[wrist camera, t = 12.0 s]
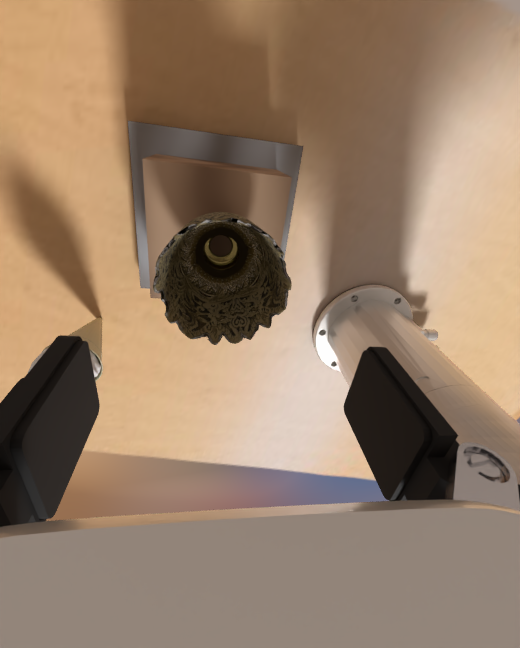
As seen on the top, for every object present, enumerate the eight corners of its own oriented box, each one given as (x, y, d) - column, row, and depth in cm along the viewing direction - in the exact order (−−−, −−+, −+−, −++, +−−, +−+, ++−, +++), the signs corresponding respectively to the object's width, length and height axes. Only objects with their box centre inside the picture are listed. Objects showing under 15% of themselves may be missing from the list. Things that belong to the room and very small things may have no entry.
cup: (276, 278, 26) (299, 330, 19) (189, 299, 26) (181, 358, 19) (258, 182, 22) (280, 204, 15) (155, 206, 22) (130, 239, 15)
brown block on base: (297, 145, 28) (325, 149, 21) (274, 287, 35) (289, 324, 28) (133, 121, 25) (105, 116, 19) (144, 279, 32) (126, 318, 26)
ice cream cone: (69, 297, 32) (-22, 402, 20) (121, 299, 33) (66, 401, 21) (78, 337, 35) (3, 453, 22) (126, 338, 36) (79, 450, 23)
